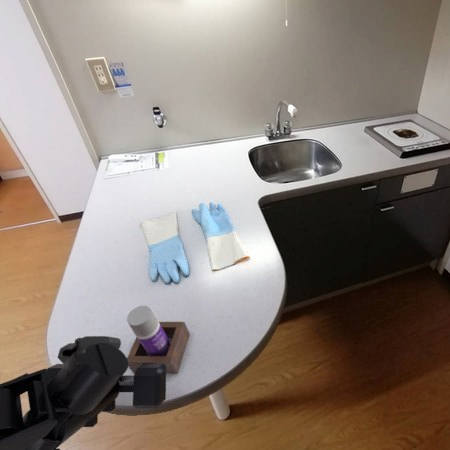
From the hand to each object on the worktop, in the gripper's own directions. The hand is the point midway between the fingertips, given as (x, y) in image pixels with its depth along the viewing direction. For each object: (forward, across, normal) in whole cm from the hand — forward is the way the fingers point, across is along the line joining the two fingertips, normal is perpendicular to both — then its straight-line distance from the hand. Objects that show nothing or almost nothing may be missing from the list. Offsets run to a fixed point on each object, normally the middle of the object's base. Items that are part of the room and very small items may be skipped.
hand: (133, 366), depth 57 cm
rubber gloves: (+38, +3, -24) cm, 45 cm away
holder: (+12, 0, +1) cm, 12 cm away
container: (+12, 0, +2) cm, 12 cm away
